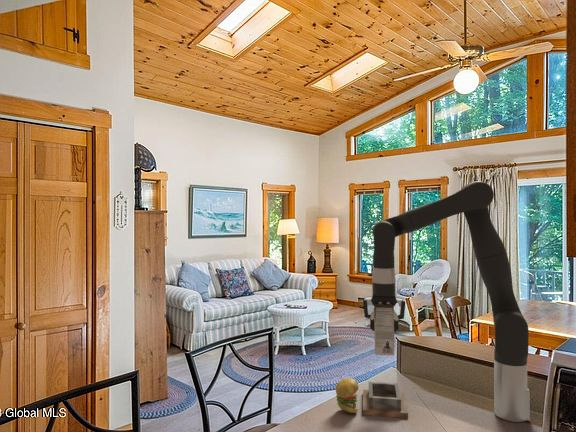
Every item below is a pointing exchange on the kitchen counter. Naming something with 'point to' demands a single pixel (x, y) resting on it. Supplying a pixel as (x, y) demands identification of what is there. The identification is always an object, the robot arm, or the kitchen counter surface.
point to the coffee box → (384, 329)
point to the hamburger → (347, 394)
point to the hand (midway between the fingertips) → (384, 330)
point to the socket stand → (384, 400)
